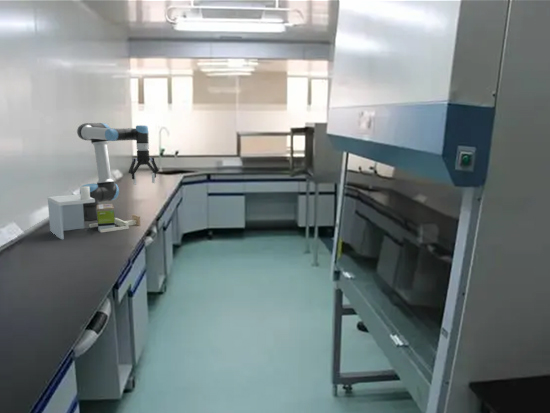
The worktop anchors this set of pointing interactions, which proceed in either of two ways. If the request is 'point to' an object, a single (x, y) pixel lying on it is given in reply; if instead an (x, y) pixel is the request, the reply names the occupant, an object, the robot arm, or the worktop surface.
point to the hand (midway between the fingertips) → (144, 183)
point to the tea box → (105, 216)
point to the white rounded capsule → (85, 192)
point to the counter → (66, 213)
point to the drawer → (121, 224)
